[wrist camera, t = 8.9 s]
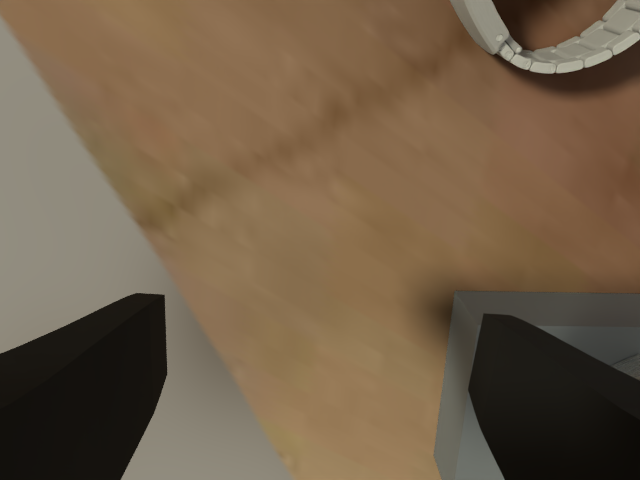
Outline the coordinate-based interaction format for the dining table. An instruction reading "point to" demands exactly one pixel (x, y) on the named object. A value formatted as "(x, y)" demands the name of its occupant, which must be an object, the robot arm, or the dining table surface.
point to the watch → (585, 51)
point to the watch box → (543, 312)
